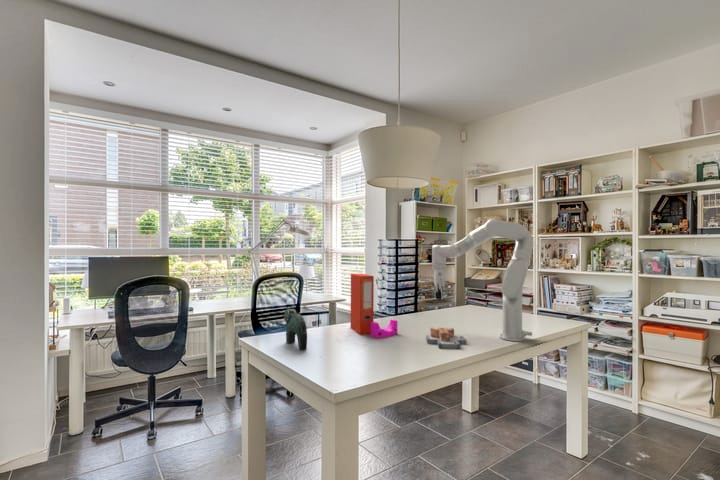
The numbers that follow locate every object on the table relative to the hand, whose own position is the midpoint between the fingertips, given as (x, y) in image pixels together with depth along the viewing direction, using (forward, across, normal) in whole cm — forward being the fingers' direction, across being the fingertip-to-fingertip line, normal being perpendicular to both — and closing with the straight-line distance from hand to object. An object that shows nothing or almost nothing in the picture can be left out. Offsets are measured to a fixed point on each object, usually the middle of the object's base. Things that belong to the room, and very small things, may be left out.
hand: (438, 298), depth 211 cm
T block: (+18, -15, 0) cm, 24 cm away
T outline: (+18, -26, 0) cm, 32 cm away
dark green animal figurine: (+19, -34, +74) cm, 83 cm away
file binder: (+19, -2, +44) cm, 48 cm away
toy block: (+19, -11, +30) cm, 37 cm away
